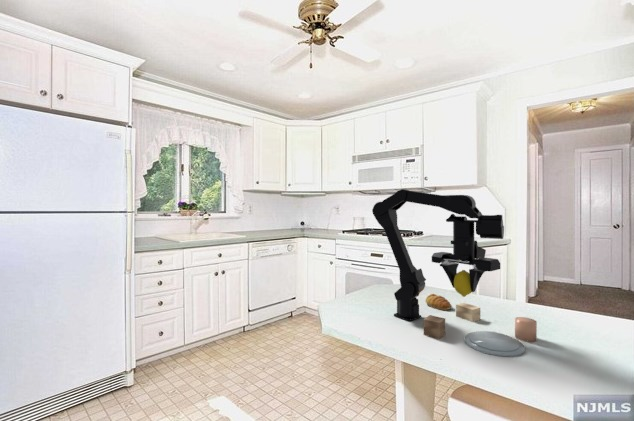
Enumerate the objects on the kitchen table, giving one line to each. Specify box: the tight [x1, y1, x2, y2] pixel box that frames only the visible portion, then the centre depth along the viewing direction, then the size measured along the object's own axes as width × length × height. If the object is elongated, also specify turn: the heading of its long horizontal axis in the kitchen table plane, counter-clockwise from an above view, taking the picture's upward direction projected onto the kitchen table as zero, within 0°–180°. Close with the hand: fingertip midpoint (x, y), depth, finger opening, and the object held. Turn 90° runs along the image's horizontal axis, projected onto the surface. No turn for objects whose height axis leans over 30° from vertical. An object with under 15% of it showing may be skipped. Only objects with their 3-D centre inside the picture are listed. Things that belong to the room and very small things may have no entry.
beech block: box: [455, 302, 481, 323], centre depth 106 cm, size 6×4×4 cm, turn 29°
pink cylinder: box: [514, 316, 538, 343], centre depth 90 cm, size 5×5×5 cm
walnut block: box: [423, 314, 446, 340], centre depth 93 cm, size 4×4×4 cm
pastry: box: [425, 293, 452, 311], centre depth 117 cm, size 9×7×4 cm
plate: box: [463, 330, 526, 358], centre depth 86 cm, size 14×14×1 cm
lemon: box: [454, 269, 473, 298], centre depth 97 cm, size 6×6×8 cm
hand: (463, 289), depth 97 cm, fingers closed on lemon, 5 cm apart
